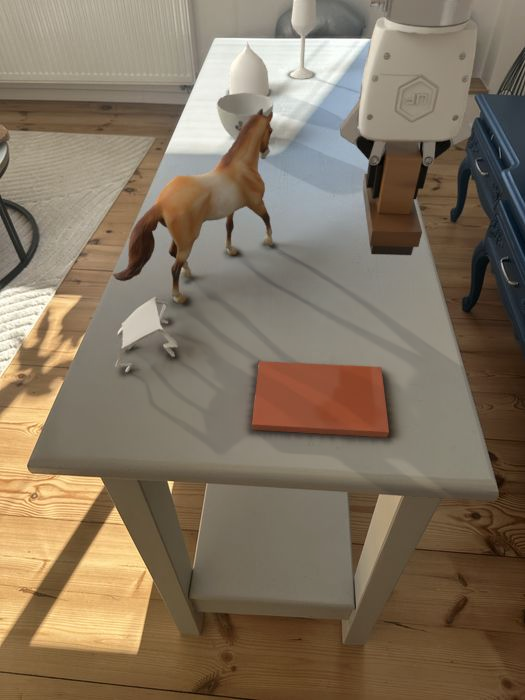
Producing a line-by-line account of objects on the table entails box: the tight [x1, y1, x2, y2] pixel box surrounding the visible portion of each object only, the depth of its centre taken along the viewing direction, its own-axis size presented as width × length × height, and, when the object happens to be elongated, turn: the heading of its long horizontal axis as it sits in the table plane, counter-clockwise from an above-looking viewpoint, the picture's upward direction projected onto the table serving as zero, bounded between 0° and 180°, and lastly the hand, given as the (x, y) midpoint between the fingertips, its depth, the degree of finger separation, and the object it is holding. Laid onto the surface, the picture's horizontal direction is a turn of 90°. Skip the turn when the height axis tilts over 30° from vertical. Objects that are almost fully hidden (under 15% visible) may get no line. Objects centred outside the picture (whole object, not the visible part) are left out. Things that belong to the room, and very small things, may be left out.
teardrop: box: [228, 41, 270, 97], centre depth 127 cm, size 11×11×12 cm
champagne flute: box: [289, 0, 317, 80], centre depth 131 cm, size 7×7×24 cm
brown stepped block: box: [362, 141, 423, 256], centre depth 56 cm, size 13×5×10 cm, turn 176°
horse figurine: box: [111, 109, 274, 305], centre depth 71 cm, size 31×8×21 cm, turn 134°
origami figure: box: [114, 296, 179, 373], centre depth 66 cm, size 12×8×5 cm
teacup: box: [216, 92, 274, 142], centre depth 110 cm, size 15×12×8 cm
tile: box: [251, 360, 390, 438], centre depth 60 cm, size 16×10×1 cm, turn 86°
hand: (392, 191), depth 56 cm, fingers closed on brown stepped block, 3 cm apart
